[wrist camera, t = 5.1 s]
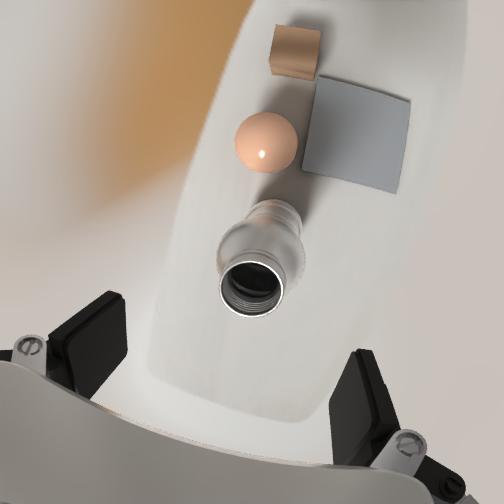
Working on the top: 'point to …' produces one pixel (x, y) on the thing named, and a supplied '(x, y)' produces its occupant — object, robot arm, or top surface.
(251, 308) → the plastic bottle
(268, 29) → the top surface
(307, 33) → the copper block
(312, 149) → the slate mat
